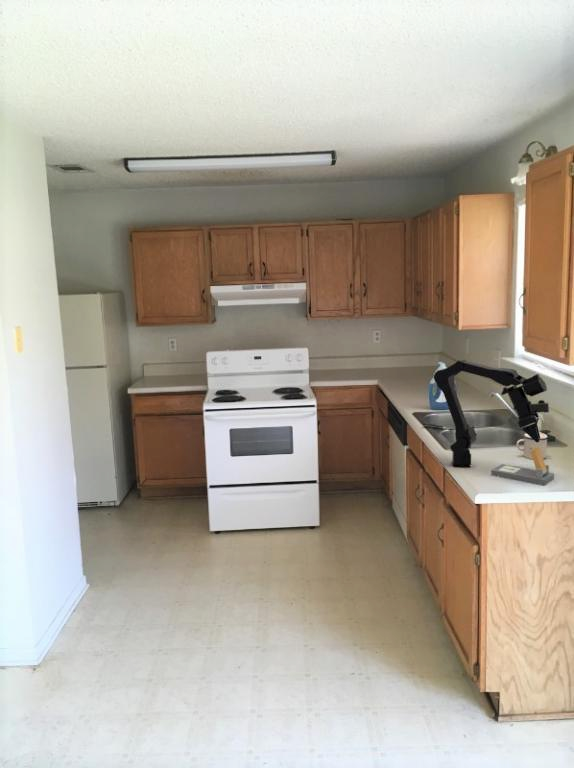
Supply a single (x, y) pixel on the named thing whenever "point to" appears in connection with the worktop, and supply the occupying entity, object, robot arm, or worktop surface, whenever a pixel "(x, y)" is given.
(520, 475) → the switch panel
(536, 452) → the orange lever
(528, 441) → the teacup with lid
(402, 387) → the worktop surface
